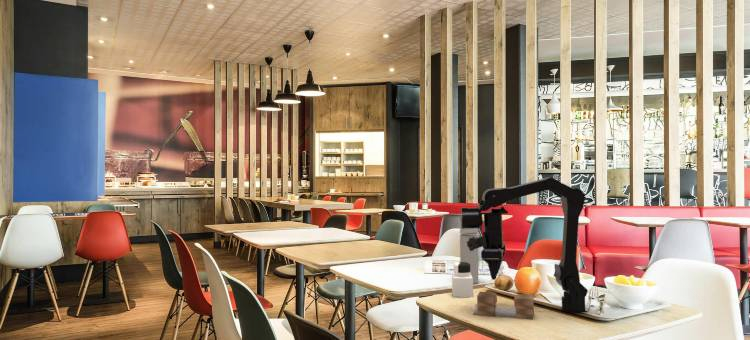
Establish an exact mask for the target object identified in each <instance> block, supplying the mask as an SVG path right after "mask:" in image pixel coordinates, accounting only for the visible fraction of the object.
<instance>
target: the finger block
mask: <svg viewBox="0 0 750 340" xmlns="http://www.w3.org/2000/svg"><path fill="white" fill-rule="evenodd" d="M476 301H477V302H476V304H477V315H476V316H478V315H481V316H480V317H491V316H494V306H495V305H496V306H497V302H498V294H497V293H496V292H493V291H492V292H491V291H479V292H478V293H477V295H476Z"/></svg>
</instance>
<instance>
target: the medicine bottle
mask: <svg viewBox="0 0 750 340" xmlns="http://www.w3.org/2000/svg"><path fill="white" fill-rule="evenodd" d="M451 275H452V276H451V288H452V289H451V291H452V293H451V294H452V296H453V298H473V297H474V284H473V278H472V275H471V273H470V264H469V263H467V262H460V261H456V262H455V263H453V273H452V274H451Z"/></svg>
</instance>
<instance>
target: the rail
mask: <svg viewBox="0 0 750 340" xmlns="http://www.w3.org/2000/svg"><path fill="white" fill-rule="evenodd" d="M534 315H535V314H534ZM534 315H533V318H534ZM472 316H477V317H478V316H480V317H482V316H481V315H477V303H476V304H475V306H474V312H473V313H472ZM490 317H491V318H492V317H494V318H504V319H505V318H506V319H507V318H508V319H519V318H516V307H514V306H509V305H508V306H507V305H505V306H504V305H497V304H496V305H495V306H494V316H490ZM519 320H520V319H519ZM529 320H531V321H532V319H529Z"/></svg>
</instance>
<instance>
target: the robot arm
mask: <svg viewBox="0 0 750 340" xmlns="http://www.w3.org/2000/svg"><path fill="white" fill-rule="evenodd" d="M545 191H548V192H550V193H552V194H553V195H555V196H556V197H559V198H560V205H561V209H562V212H563V229H562V230H563V231H562V243H561V244H562V245H561V246H562V247H561V259H560V261H559V263H558V264H557V263H555V264H554V273H553V277H554V278H555V281H556V283H557V284H558V285H559V286H560V287H561V289H562V291H563V296H561V311H562V312H568V313H571V314H572V313H573V314H580V313H581V312H585V313H586V297H587V294H588V292H589V290H588V288H586V287H585V286H584V285H583V284H582V283H581V278H580V271H579V268H578V264H577V263H578V262H577V255H578V254H577V253H578V237H579V236H578V235H579V219H580V215H581V213H582V211H583V209H584V206H585V205H584V204H585V201H586V194H585V193H584V191H583V190H582V189H580V188H577V187H571V186H568V185H567V184H565V183H563V182H561V181H559V180H557V179H556V178H554V177H553V176H547V177H544V178H541V179H537V180H533V181H530V182H527V183H523V184H519V185H514V186H511V187H509V186H508V187H500V188H499V187H496V188H495V187H494V188H489V189H486V190H485V191H484V192H483V193H482V196H481V201H480V203H478V204H477V206H476V207H461V208H460V217H459V219H460V220H459V222H460V224H461V229H471V228H478V229H479V228H480V227H482V226H483V232H482V235H480V236H479V235H478V237H477V238H475V237H472V238H469V241H467V247H469V250H470V251H473V250H474V249H477V248H478V249H480V248H482V249H481V251H480V257H481V260H483V261H484V262H485V263H486V264H487V267H488V270H489V274H490V278H491V280H496V279H497V275H498V274H499V272H500V269H501V266H502V263H503V260H504V258H505V255H506V251H507V250H506V249H507V246H506V245H507V244H506V243H505V242H504V237H503V234H504V230H503V214H504V215H505V214H506V215H508V214H509V211H508V210H506V208H505V207H504V206H503V205H504V204H506V203H508V202H510V201H513V200H515V199H518V198H522V197H526V196H529V195H533V194H537V193H541V192H545ZM498 207H499V208H498ZM488 210H489V211H488ZM581 314H582V313H581Z"/></svg>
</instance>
